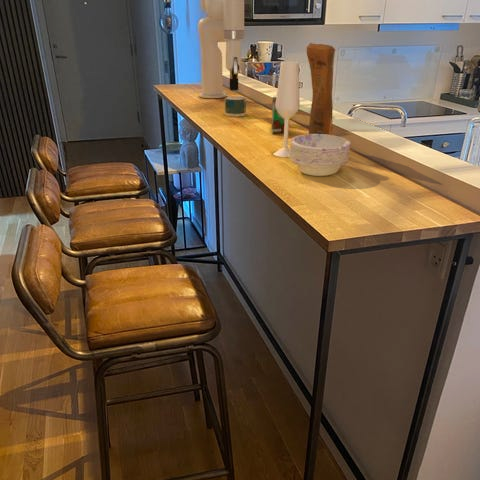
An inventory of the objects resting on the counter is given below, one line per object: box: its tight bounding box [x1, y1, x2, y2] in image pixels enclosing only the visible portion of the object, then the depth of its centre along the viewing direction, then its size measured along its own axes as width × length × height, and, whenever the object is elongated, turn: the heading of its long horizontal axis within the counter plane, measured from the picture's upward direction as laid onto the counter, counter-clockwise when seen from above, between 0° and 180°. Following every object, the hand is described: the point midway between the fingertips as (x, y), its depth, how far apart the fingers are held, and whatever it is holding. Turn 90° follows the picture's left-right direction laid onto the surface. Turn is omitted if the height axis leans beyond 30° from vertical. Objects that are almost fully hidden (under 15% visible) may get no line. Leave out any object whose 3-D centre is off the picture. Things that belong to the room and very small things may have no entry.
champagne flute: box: [273, 60, 301, 158], centre depth 140 cm, size 7×7×24 cm
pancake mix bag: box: [306, 42, 336, 135], centre depth 144 cm, size 7×19×28 cm, turn 7°
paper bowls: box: [289, 133, 351, 177], centre depth 129 cm, size 15×15×8 cm
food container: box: [271, 96, 285, 135], centre depth 169 cm, size 12×6×10 cm, turn 179°
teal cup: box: [224, 95, 247, 118], centre depth 195 cm, size 8×8×6 cm
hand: (233, 89), depth 194 cm, fingers closed
